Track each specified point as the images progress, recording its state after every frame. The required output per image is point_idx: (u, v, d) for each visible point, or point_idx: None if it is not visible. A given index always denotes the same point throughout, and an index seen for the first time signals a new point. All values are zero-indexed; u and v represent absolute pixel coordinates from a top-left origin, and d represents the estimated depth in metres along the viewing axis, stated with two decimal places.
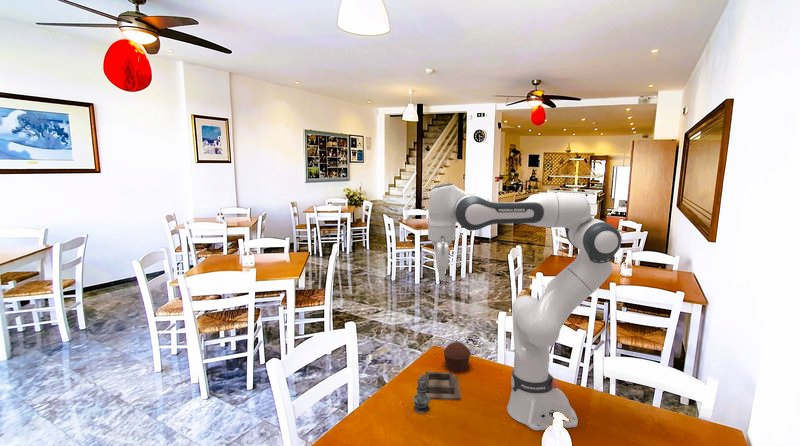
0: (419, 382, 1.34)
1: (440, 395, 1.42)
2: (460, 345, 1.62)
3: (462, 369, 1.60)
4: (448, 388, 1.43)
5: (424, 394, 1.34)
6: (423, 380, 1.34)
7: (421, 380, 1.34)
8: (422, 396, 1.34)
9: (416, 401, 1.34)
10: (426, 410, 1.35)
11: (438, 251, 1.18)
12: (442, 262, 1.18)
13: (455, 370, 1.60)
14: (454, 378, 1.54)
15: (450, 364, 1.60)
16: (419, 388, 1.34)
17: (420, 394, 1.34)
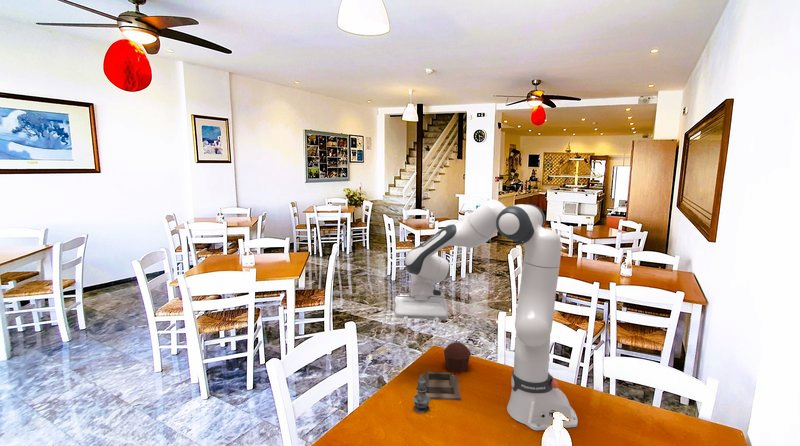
0: (419, 382, 1.34)
1: (440, 395, 1.42)
2: (460, 345, 1.62)
3: (462, 369, 1.60)
4: (448, 388, 1.43)
5: (424, 394, 1.34)
6: (423, 380, 1.34)
7: (421, 380, 1.34)
8: (422, 396, 1.34)
9: (416, 401, 1.34)
10: (426, 410, 1.35)
11: None
12: None
13: (455, 370, 1.60)
14: (454, 378, 1.54)
15: (450, 364, 1.60)
16: (419, 388, 1.34)
17: (420, 394, 1.34)
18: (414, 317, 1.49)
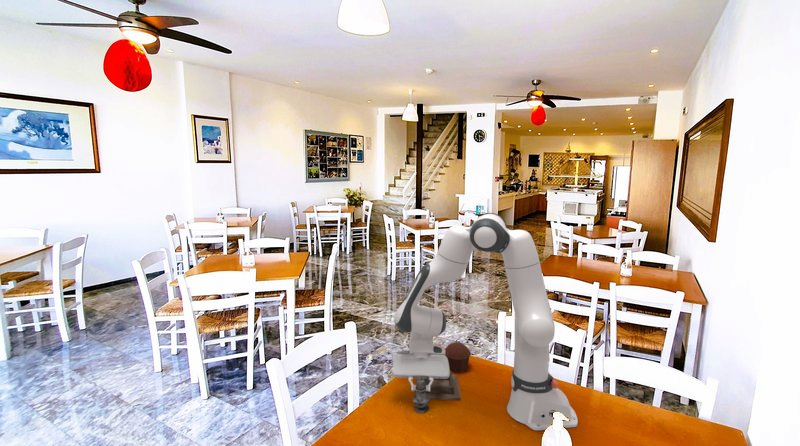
0: (418, 382, 1.34)
1: (440, 395, 1.42)
2: (460, 345, 1.62)
3: (462, 369, 1.60)
4: (448, 388, 1.43)
5: (423, 394, 1.34)
6: (422, 380, 1.34)
7: (420, 380, 1.34)
8: (421, 395, 1.34)
9: (416, 401, 1.34)
10: (426, 409, 1.35)
11: None
12: None
13: (455, 370, 1.60)
14: (454, 378, 1.54)
15: (450, 364, 1.60)
16: (418, 388, 1.34)
17: (420, 393, 1.34)
18: (413, 376, 1.39)
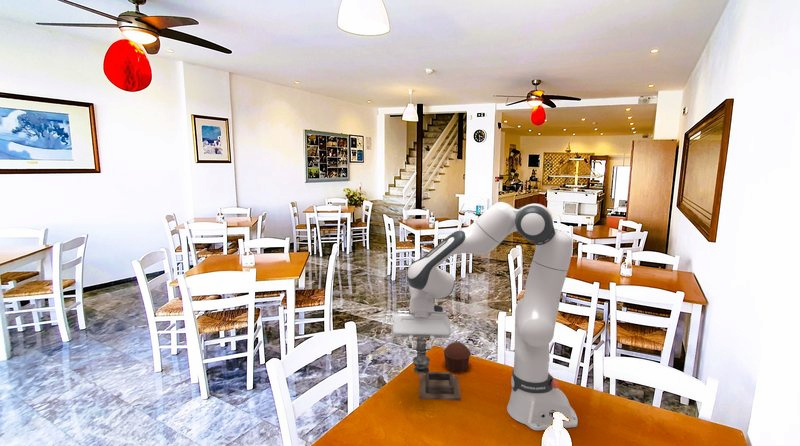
0: (419, 343, 1.32)
1: (440, 395, 1.42)
2: (460, 345, 1.62)
3: (462, 369, 1.60)
4: (448, 388, 1.43)
5: (424, 355, 1.32)
6: (423, 341, 1.32)
7: (421, 341, 1.32)
8: (421, 357, 1.32)
9: (416, 362, 1.32)
10: (426, 371, 1.33)
11: None
12: None
13: (455, 370, 1.60)
14: (454, 378, 1.54)
15: (450, 364, 1.60)
16: (419, 349, 1.32)
17: (420, 355, 1.32)
18: (414, 336, 1.36)
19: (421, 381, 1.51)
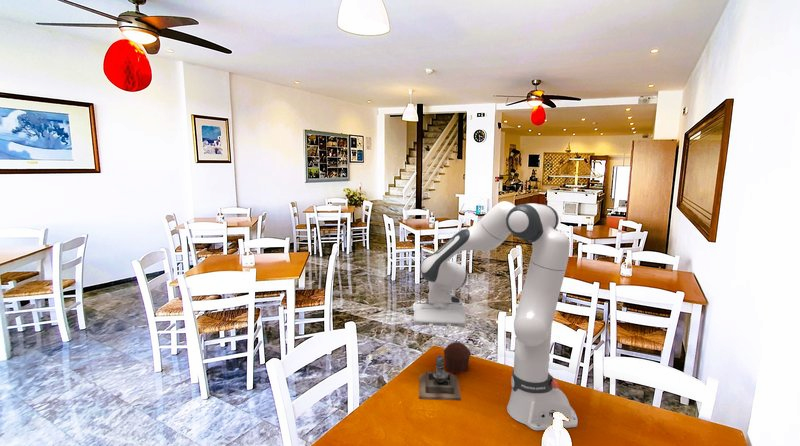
0: (437, 359, 1.47)
1: (440, 395, 1.42)
2: (460, 345, 1.62)
3: (462, 369, 1.60)
4: (448, 388, 1.43)
5: (442, 370, 1.48)
6: (440, 357, 1.48)
7: (439, 357, 1.48)
8: (440, 371, 1.47)
9: (435, 376, 1.48)
10: (445, 384, 1.48)
11: None
12: (413, 317, 1.50)
13: (455, 370, 1.60)
14: (454, 378, 1.54)
15: (450, 364, 1.60)
16: (437, 364, 1.48)
17: (439, 369, 1.47)
18: (432, 324, 1.49)
19: (421, 381, 1.51)
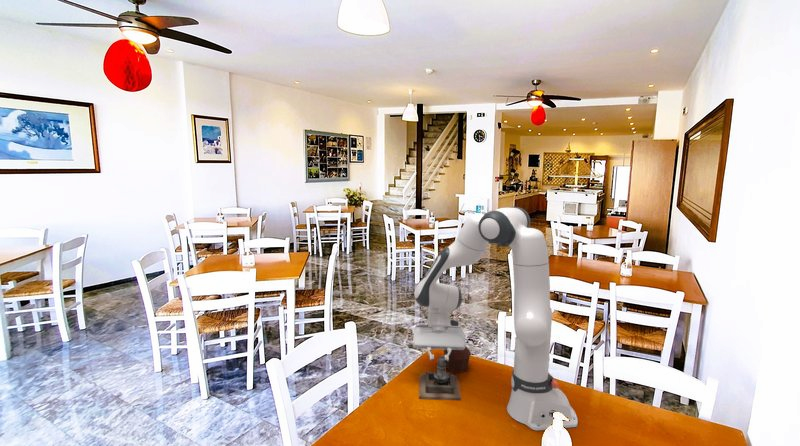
0: (439, 359, 1.47)
1: (440, 395, 1.42)
2: None
3: (462, 369, 1.60)
4: (448, 388, 1.43)
5: (443, 371, 1.47)
6: (443, 358, 1.47)
7: (441, 358, 1.47)
8: (441, 372, 1.47)
9: (436, 377, 1.48)
10: (445, 385, 1.48)
11: None
12: None
13: (455, 370, 1.60)
14: (454, 378, 1.54)
15: (450, 364, 1.60)
16: (439, 365, 1.47)
17: (440, 370, 1.47)
18: (432, 347, 1.50)
19: (421, 381, 1.51)
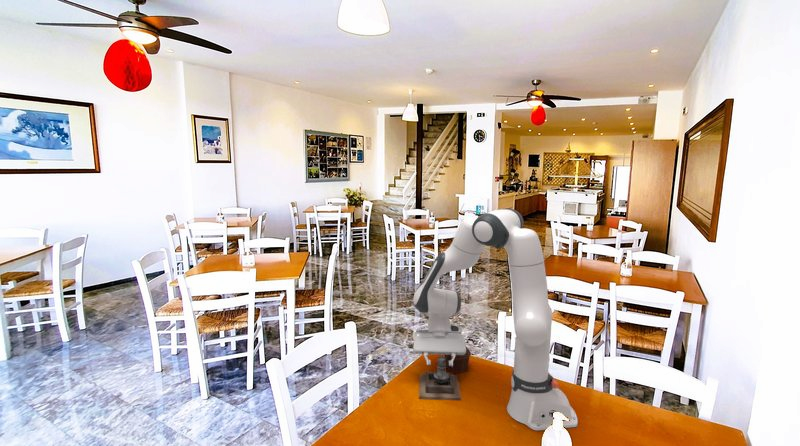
0: (439, 359, 1.47)
1: (440, 395, 1.42)
2: None
3: (462, 369, 1.60)
4: (448, 388, 1.43)
5: (443, 371, 1.47)
6: (443, 358, 1.47)
7: (441, 358, 1.47)
8: (441, 372, 1.47)
9: (436, 377, 1.48)
10: (445, 385, 1.48)
11: None
12: None
13: (455, 370, 1.60)
14: (454, 378, 1.54)
15: None
16: (439, 365, 1.47)
17: (440, 370, 1.47)
18: (432, 353, 1.51)
19: (421, 381, 1.51)
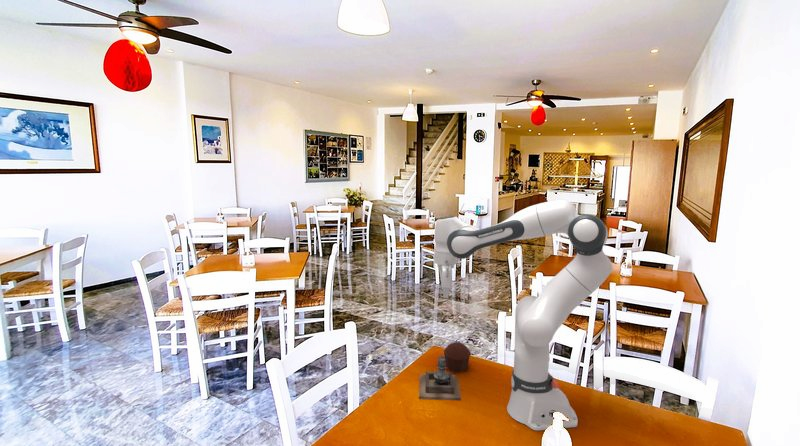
0: (439, 359, 1.47)
1: (440, 395, 1.42)
2: (460, 345, 1.62)
3: (462, 369, 1.60)
4: (448, 388, 1.43)
5: (443, 371, 1.47)
6: (443, 358, 1.47)
7: (441, 358, 1.47)
8: (441, 372, 1.47)
9: (436, 377, 1.48)
10: (445, 385, 1.48)
11: (443, 274, 1.39)
12: (446, 283, 1.39)
13: (455, 370, 1.60)
14: (454, 378, 1.54)
15: (450, 364, 1.60)
16: (439, 365, 1.47)
17: (440, 370, 1.47)
18: None
19: (421, 381, 1.51)
